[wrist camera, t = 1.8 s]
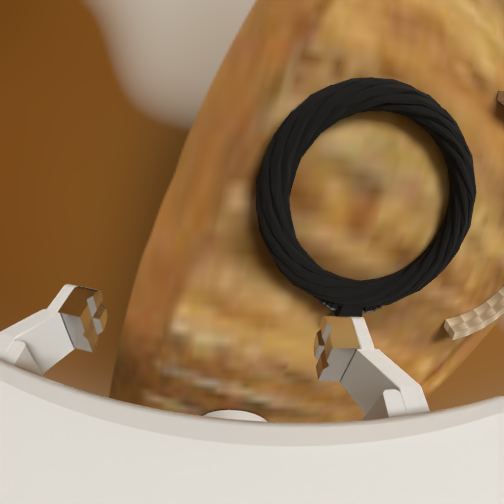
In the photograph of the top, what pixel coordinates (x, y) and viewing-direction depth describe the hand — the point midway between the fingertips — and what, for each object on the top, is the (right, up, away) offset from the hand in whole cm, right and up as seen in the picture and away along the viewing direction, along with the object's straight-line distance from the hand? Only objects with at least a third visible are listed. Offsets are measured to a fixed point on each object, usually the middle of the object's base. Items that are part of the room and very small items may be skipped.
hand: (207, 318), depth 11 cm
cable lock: (+16, +8, +23) cm, 29 cm away
